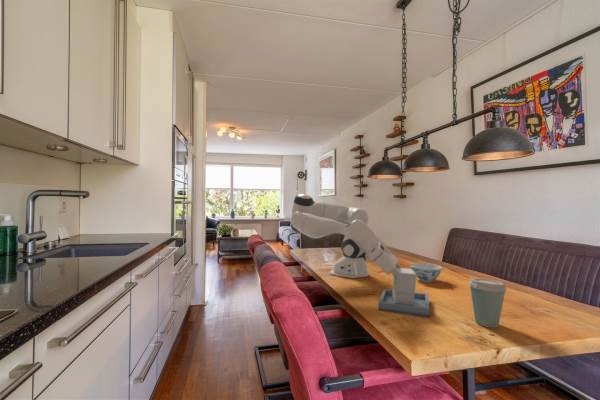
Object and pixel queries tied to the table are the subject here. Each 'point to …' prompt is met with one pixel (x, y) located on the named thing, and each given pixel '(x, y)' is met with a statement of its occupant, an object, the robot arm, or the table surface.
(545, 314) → the table surface
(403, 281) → the supplement box
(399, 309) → the tray
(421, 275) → the chinaware
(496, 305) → the disposable coffee cup
